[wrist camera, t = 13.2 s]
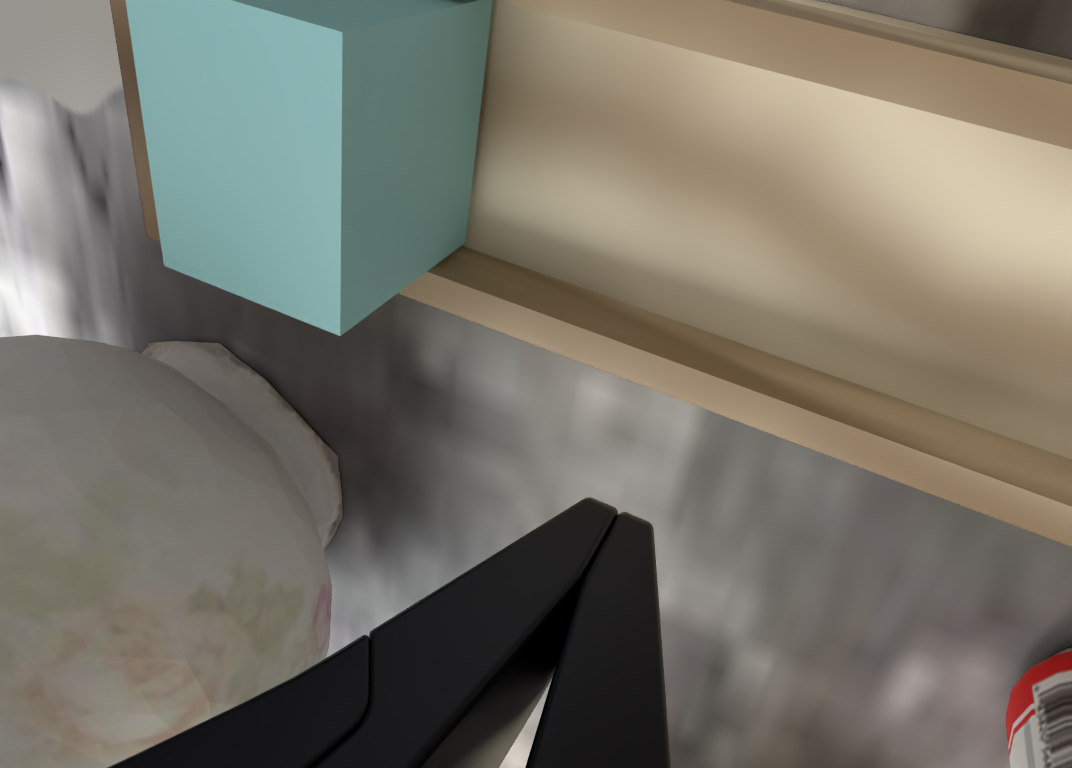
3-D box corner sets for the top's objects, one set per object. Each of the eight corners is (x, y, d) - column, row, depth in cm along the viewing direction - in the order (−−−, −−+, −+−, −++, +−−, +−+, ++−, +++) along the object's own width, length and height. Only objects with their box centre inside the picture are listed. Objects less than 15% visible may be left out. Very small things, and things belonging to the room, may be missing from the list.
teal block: (465, 242, 22) (340, 336, 17) (318, 191, 23) (163, 265, 18) (493, -3, 18) (342, 32, 13) (315, -50, 19) (120, -32, 15)
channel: (1189, 513, 19) (1256, 671, 15) (264, 185, 26) (146, 237, 22) (1517, 164, 14) (1747, 269, 10) (246, -134, 20) (87, -142, 17)
